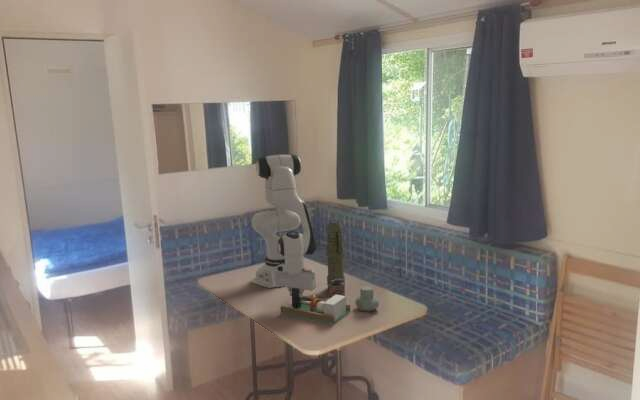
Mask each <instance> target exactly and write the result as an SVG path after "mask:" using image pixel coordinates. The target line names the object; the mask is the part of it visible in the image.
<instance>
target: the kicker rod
mask: <svg viewBox="0 0 640 400" xmlns="http://www.w3.org/2000/svg"><path fill="white" fill-rule="evenodd" d="M291 290H292V296H291V305H292V307H294V308H299V307H300V306H301V304H306V305H310V312H314V311H316V310H317V309H316V305H317V303H318V302H319V299H320V298H318V299H316V298H317V297H316V296H315V295H314V294H312V295H311V296H310V297H311V300H313V301H311V302H309V301H304V300H301V298H299V297H298V293H300V291H299V289H298V288H291Z"/></svg>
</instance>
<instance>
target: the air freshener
mask: <svg viewBox="0 0 640 400" xmlns="http://www.w3.org/2000/svg"><path fill="white" fill-rule="evenodd" d="M359 291H360V292H359V293H360V295H359V296H357V298H356V299H355V305H356V308H357V309H358V310H360V311H361V312H373V311H375V310H376V309H378V307H379V306H380V305H379V304H380V303H379V300H378V299H377V297H376V296H374V287H372V286H369V285H366V286H361V287H360V289H359Z"/></svg>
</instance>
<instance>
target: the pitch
mask: <svg viewBox="0 0 640 400" xmlns="http://www.w3.org/2000/svg"><path fill="white" fill-rule="evenodd" d="M316 299H319V302H320V301H324V303H323V305H324V312H322V313H321V312H319V311H318V310H316V311H314V312H310V305H306V304H301V306H300V307H299V308H294V307H292V304H291V305H290V306H284V305H282V306H280V315H283V316H288V317H293V318H297V319H301V320H307V321H311V322H312V321H313V322H315V323H316V322H317V323H322V324H328V325H332V326H335V325H336V324H337V323H338V322H340V321H341V320H342V319H343V318H344V317H346V316H347V315H349V313H351V303H347V296H346V295H345V296H342V295H334V296H333V297H331V298H330V299H329V298H328V299H323V298H317V297H316ZM301 300H304V301H309V302H311V301H313V300H311V296H307V295H302V297H301Z"/></svg>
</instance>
